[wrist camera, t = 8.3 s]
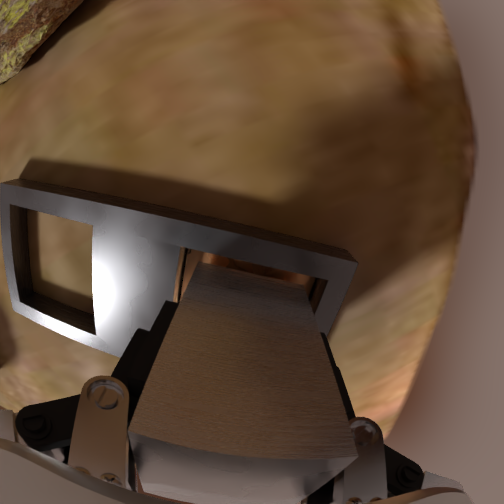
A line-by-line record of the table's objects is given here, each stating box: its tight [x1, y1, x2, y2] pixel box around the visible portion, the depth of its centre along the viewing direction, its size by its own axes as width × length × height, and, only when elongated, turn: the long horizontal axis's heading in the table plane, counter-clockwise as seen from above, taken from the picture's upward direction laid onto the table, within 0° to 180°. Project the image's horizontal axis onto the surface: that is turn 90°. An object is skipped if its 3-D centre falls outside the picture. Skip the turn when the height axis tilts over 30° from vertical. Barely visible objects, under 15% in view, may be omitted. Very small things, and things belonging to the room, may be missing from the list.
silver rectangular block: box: [128, 261, 358, 504], centre depth 8 cm, size 4×4×8 cm
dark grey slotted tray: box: [0, 179, 358, 358], centre depth 12 cm, size 8×18×2 cm, turn 76°
